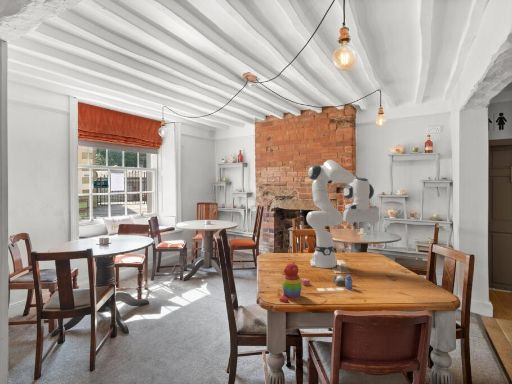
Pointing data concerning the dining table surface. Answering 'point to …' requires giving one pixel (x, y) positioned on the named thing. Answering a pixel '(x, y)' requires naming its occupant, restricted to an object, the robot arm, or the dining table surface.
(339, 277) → the dome
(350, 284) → the pawn
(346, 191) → the robot arm
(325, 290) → the track
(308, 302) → the dining table surface
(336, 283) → the popper box
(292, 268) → the stacking bear
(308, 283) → the die
